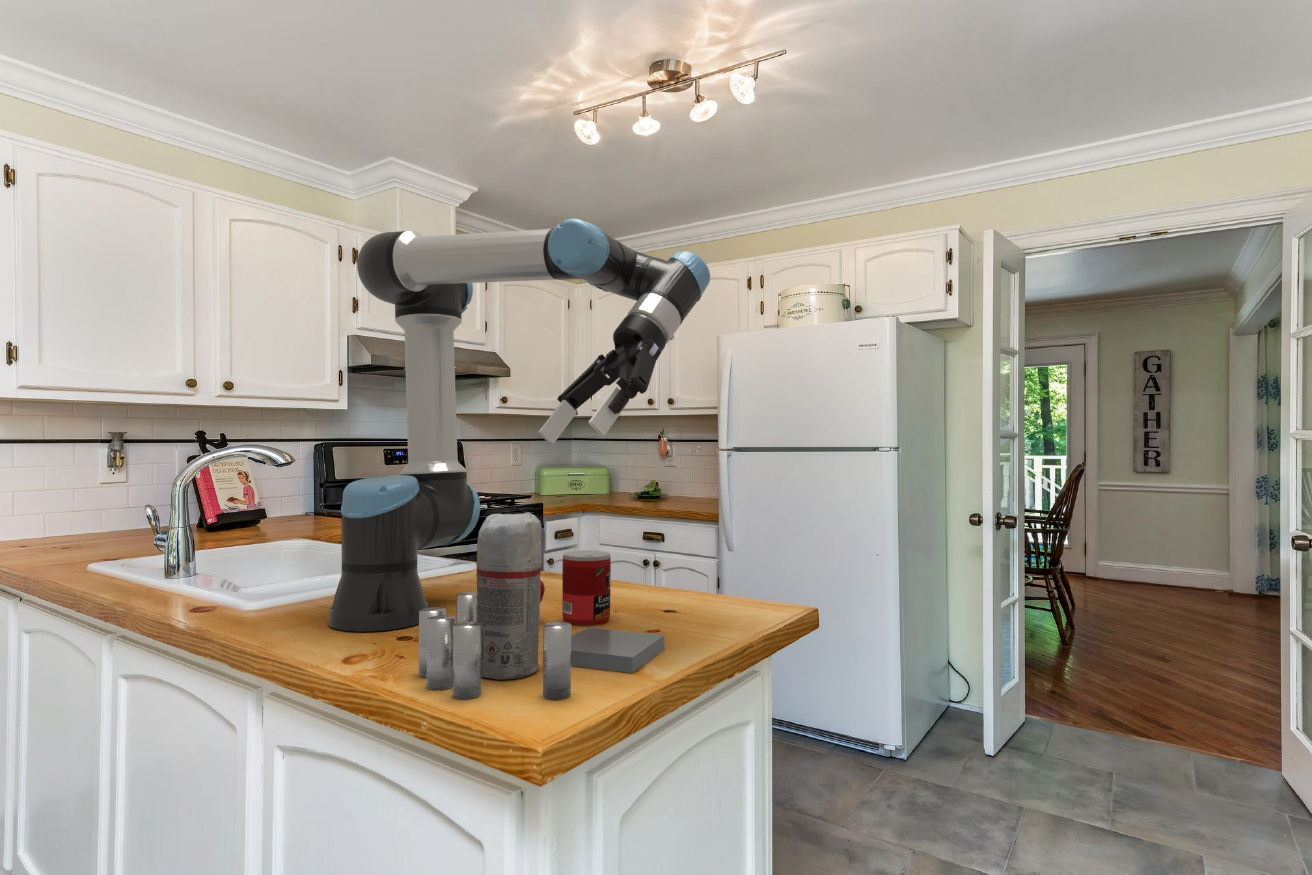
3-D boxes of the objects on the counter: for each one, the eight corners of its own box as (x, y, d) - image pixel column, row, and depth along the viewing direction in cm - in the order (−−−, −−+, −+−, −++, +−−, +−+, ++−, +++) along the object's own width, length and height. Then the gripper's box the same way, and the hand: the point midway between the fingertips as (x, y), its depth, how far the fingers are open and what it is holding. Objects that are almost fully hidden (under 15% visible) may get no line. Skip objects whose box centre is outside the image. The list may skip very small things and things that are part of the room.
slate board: (548, 663, 98) (548, 647, 98) (587, 641, 109) (587, 627, 109) (632, 673, 94) (632, 657, 94) (664, 649, 105) (664, 635, 105)
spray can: (554, 671, 95) (555, 513, 95) (501, 686, 89) (503, 518, 89) (513, 658, 100) (515, 509, 101) (461, 671, 94) (462, 513, 95)
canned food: (603, 627, 118) (603, 557, 118) (555, 624, 120) (555, 556, 120) (615, 616, 126) (616, 551, 126) (570, 614, 127) (570, 549, 127)
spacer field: (373, 686, 88) (374, 618, 88) (464, 647, 105) (465, 591, 106) (547, 711, 80) (547, 637, 80) (615, 665, 97) (615, 603, 97)
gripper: (715, 332, 105) (639, 444, 95) (615, 362, 124) (544, 457, 115) (683, 292, 102) (601, 404, 92) (585, 329, 121) (510, 424, 112)
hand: (569, 434), depth 103 cm, fingers open, 13 cm apart
